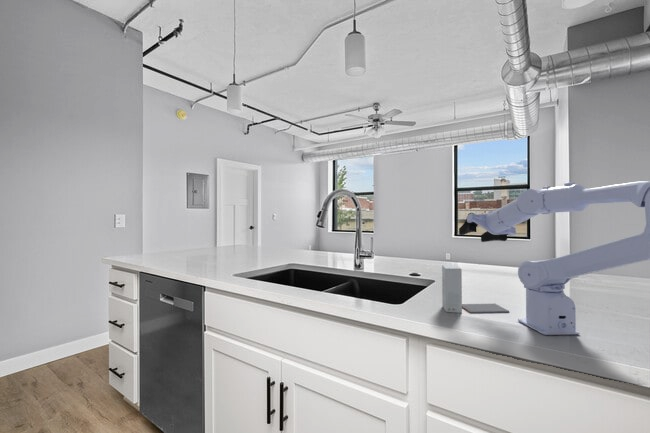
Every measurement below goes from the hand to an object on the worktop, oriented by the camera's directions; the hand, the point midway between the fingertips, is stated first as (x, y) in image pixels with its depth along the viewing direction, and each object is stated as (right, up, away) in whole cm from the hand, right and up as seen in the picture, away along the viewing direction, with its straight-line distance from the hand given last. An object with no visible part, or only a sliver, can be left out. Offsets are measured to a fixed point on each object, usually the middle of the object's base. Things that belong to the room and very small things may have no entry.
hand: (471, 235), depth 94 cm
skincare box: (-9, -21, -7) cm, 23 cm away
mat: (0, -20, -7) cm, 21 cm away
